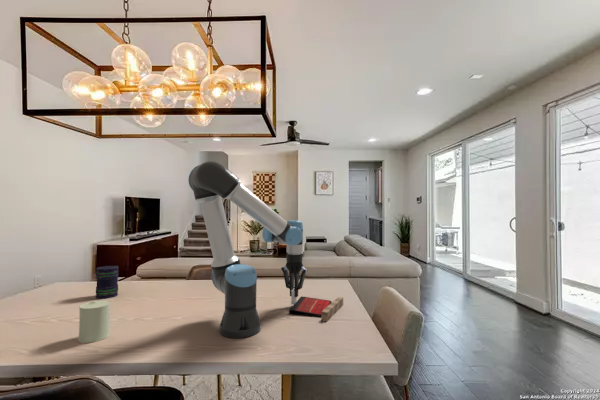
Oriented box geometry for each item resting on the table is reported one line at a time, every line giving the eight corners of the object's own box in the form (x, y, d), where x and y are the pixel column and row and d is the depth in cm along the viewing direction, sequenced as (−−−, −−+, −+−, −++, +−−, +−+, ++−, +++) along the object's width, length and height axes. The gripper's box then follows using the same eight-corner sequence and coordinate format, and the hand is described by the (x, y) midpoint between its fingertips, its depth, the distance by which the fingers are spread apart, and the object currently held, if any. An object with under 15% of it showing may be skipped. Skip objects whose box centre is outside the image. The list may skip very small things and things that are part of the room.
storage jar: (104, 293, 161) (105, 265, 162) (122, 293, 161) (122, 265, 161) (90, 298, 151) (91, 269, 152) (109, 299, 151) (110, 269, 151)
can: (104, 329, 113) (105, 297, 113) (113, 336, 107) (114, 302, 107) (74, 337, 105) (75, 303, 106) (83, 345, 100) (83, 309, 100)
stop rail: (327, 321, 122) (327, 312, 122) (321, 320, 123) (321, 311, 123) (343, 304, 143) (343, 297, 143) (338, 304, 144) (338, 296, 144)
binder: (289, 309, 130) (300, 295, 150) (288, 314, 130) (300, 300, 150) (325, 314, 126) (332, 299, 146) (325, 319, 126) (332, 304, 146)
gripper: (310, 253, 142) (309, 303, 142) (285, 251, 147) (285, 299, 147) (303, 255, 135) (303, 308, 135) (278, 253, 141) (277, 303, 140)
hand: (293, 303), depth 141 cm, fingers closed
